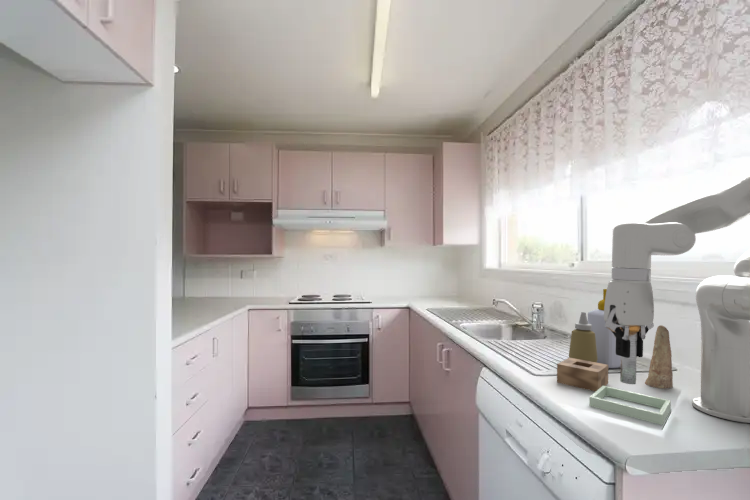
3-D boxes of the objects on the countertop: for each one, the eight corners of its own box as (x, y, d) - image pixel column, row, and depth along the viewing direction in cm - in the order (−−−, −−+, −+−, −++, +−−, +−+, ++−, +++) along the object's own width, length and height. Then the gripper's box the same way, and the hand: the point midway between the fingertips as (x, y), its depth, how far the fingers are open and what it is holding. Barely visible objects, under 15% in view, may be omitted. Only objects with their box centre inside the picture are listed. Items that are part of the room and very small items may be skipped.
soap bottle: (629, 367, 123) (630, 290, 123) (608, 369, 120) (609, 290, 121) (605, 360, 132) (606, 288, 132) (585, 361, 129) (586, 288, 129)
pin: (627, 379, 89) (629, 323, 90) (642, 384, 86) (643, 326, 86) (614, 379, 89) (615, 323, 89) (628, 385, 85) (630, 326, 85)
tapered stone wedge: (644, 391, 103) (672, 397, 99) (646, 327, 101) (676, 331, 97) (645, 382, 108) (672, 387, 104) (648, 321, 106) (675, 324, 102)
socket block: (608, 386, 104) (608, 364, 104) (597, 395, 97) (598, 372, 97) (569, 378, 111) (569, 357, 111) (556, 385, 104) (557, 363, 104)
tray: (670, 413, 86) (670, 400, 86) (662, 429, 78) (662, 415, 78) (602, 397, 96) (603, 385, 96) (589, 409, 88) (589, 396, 88)
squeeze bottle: (568, 370, 119) (569, 313, 119) (568, 364, 126) (569, 309, 126) (598, 374, 115) (598, 315, 115) (596, 367, 122) (597, 312, 122)
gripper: (642, 275, 93) (641, 350, 93) (588, 274, 89) (587, 353, 89) (673, 277, 86) (672, 358, 86) (616, 276, 82) (615, 362, 81)
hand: (629, 355), depth 87 cm, fingers closed on pin, 3 cm apart
